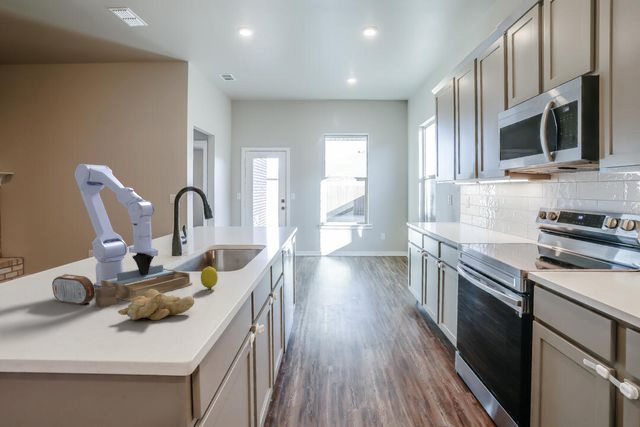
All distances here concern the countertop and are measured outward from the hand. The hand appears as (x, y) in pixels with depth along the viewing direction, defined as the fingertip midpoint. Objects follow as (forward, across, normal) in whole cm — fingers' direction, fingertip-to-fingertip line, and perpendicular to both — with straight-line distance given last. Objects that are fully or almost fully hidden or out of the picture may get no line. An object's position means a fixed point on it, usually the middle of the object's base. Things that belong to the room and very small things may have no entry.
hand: (144, 274), depth 125 cm
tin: (+5, -3, -21) cm, 22 cm away
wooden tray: (+5, +2, 0) cm, 5 cm away
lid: (+1, -2, 0) cm, 2 cm away
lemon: (+5, +21, +10) cm, 24 cm away
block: (+5, +7, -16) cm, 19 cm away
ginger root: (+5, +29, -14) cm, 33 cm away
